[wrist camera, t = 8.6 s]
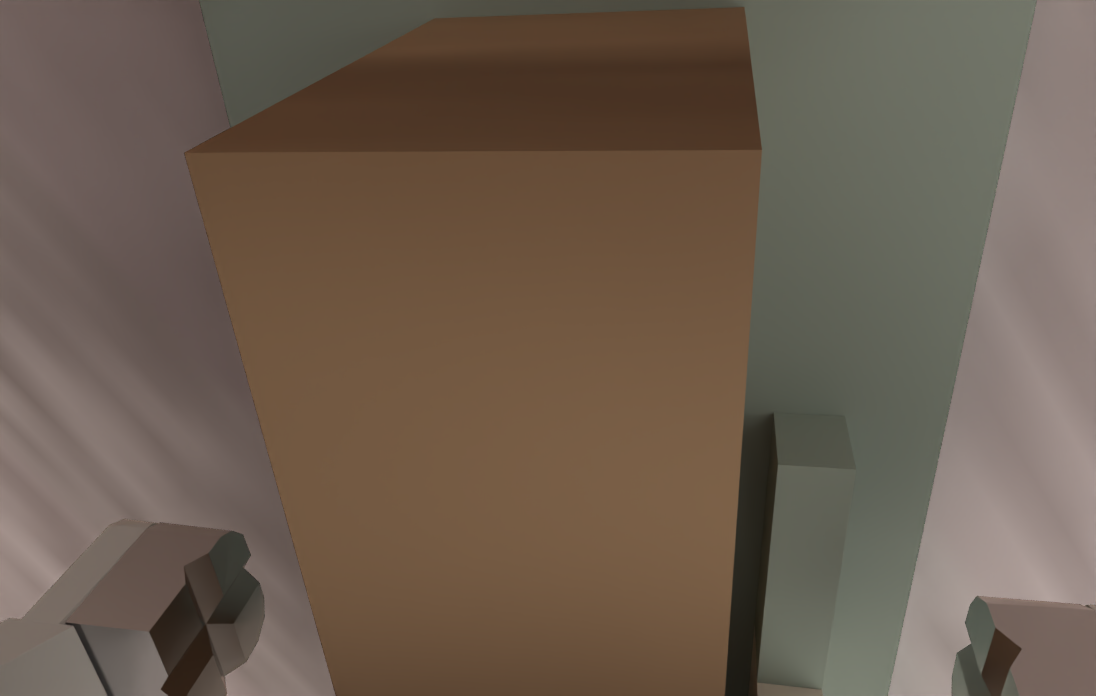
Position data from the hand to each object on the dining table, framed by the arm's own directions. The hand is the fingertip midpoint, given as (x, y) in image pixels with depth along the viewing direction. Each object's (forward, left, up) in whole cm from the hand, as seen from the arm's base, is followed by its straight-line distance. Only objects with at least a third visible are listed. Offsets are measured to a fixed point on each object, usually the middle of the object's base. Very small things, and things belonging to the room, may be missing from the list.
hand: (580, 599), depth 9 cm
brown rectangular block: (0, 0, -2) cm, 2 cm away
